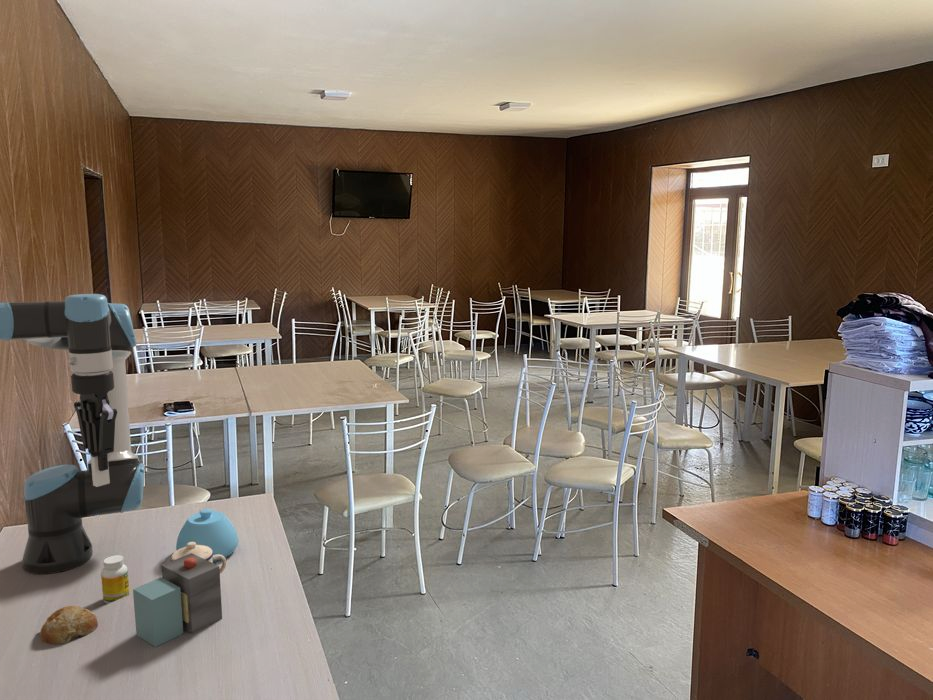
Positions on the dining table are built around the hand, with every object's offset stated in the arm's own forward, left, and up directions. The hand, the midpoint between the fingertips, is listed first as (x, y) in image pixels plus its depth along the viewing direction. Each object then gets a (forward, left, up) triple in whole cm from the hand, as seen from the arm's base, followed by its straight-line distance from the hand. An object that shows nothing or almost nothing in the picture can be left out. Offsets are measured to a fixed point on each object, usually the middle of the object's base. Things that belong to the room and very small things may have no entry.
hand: (101, 484), depth 145 cm
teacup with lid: (+3, +19, -31) cm, 36 cm away
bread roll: (-1, -8, -31) cm, 32 cm away
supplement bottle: (-8, +5, -31) cm, 32 cm away
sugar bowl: (-12, +31, -31) cm, 45 cm away
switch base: (+15, +2, -30) cm, 34 cm away
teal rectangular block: (+15, +2, -29) cm, 33 cm away
